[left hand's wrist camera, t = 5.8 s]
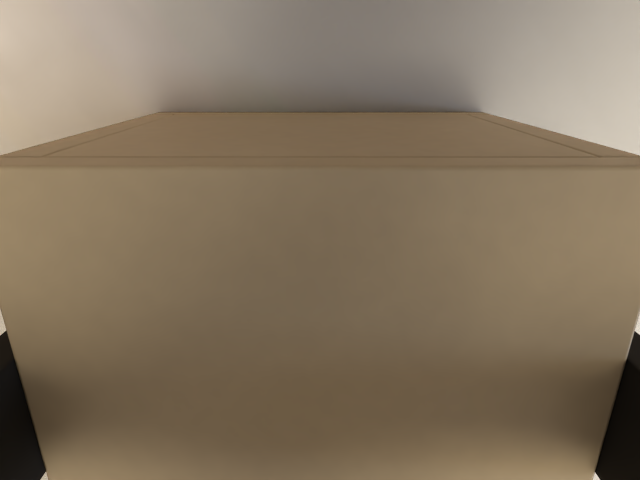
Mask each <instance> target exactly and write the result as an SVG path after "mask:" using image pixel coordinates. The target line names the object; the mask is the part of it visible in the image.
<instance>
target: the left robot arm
mask: <svg viewBox="0 0 640 480" xmlns="http://www.w3.org/2000/svg"><path fill="white" fill-rule="evenodd" d="M45 472H46V469H45V465H44V462H43V458H42V454H41V451H40V447H39V444H38V440H37V437H36V433H35V430H34V426H33V422H32V419H31V415H30V412H29V408H28V405H27V401H26V398H25V394H24V390H23V387H22V383H21V380H20V376H19V373H18V369H17V365H16V362H15V358H14V355H13V351H12V348H11V344H10V341H9V337H8V333H7V331H5V332H4V333H3V334H2V335H1V336H0V480H40V479H41V478H42V476H43V475H44V473H45ZM595 472H596V474H597V475H598V477H599V478H600V480H640V335H639V334H638V333H636V332H635V331H634V335H633V338H632V342H631V345H630V349H629V353H628V356H627V360H626V363H625V367H624V370H623V374H622V377H621V381H620V385H619V388H618V392H617V395H616V399H615V402H614V406H613V409H612V413H611V416H610V420H609V424H608V427H607V431H606V434H605V438H604V441H603V445H602V448H601V452H600V456H599V459H598V463H597V466H596V470H595Z"/></svg>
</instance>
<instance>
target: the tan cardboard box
mask: <svg viewBox="0 0 640 480" xmlns="http://www.w3.org/2000/svg"><path fill="white" fill-rule="evenodd" d="M0 309H1V312H2V316H3V319H4V323H5V326H6V330H7V333H8V337H9V341H10V344H11V348H12V351H13V355H14V358H15V362H16V365H17V369H18V373H19V376H20V380H21V383H22V387H23V390H24V394H25V398H26V401H27V405H28V408H29V412H30V415H31V419H32V422H33V426H34V430H35V433H36V437H37V440H38V444H39V447H40V451H41V454H42V458H43V462H44V465H45V469H46V472H47V476H48V479H49V480H593V477H594V473H595V470H596V466H597V463H598V459H599V456H600V452H601V448H602V445H603V441H604V438H605V434H606V431H607V427H608V424H609V420H610V416H611V413H612V409H613V406H614V402H615V399H616V395H617V392H618V388H619V385H620V381H621V377H622V374H623V370H624V367H625V363H626V360H627V356H628V353H629V349H630V345H631V342H632V338H633V335H634V331H635V328H636V324H637V321H638V317H639V313H640V156H639V155H636V154H632V153H628V152H625V151H621V150H617V149H614V148H610V147H607V146H603V145H599V144H596V143H592V142H588V141H585V140H581V139H578V138H574V137H570V136H567V135H563V134H559V133H556V132H552V131H549V130H545V129H541V128H538V127H534V126H530V125H527V124H523V123H520V122H516V121H512V120H509V119H505V118H501V117H498V116H494V115H490V114H487V113H483V112H158V113H155V114H152V115H147V116H143V117H139V118H136V119H132V120H128V121H125V122H121V123H117V124H114V125H110V126H106V127H103V128H99V129H95V130H92V131H88V132H84V133H81V134H77V135H73V136H70V137H66V138H63V139H59V140H55V141H52V142H48V143H44V144H41V145H37V146H33V147H30V148H26V149H22V150H19V151H15V152H11V153H8V154H4V155H0Z"/></svg>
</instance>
